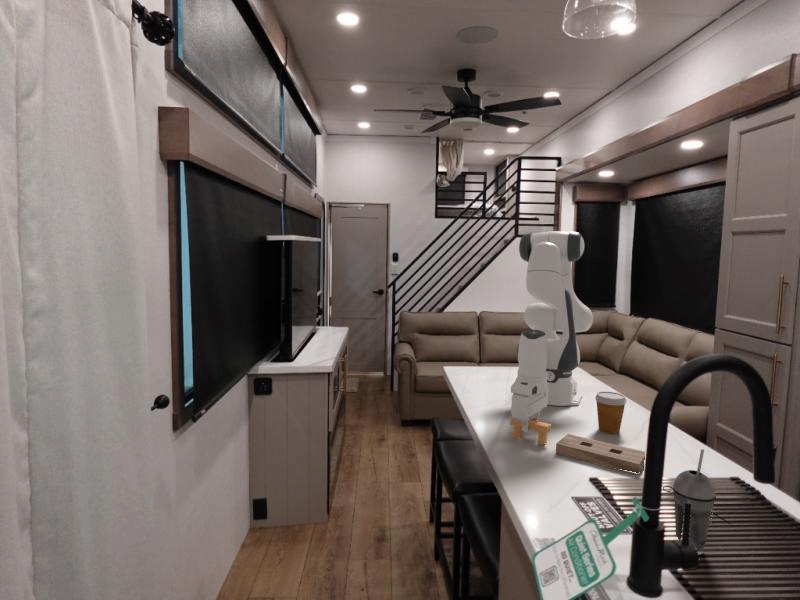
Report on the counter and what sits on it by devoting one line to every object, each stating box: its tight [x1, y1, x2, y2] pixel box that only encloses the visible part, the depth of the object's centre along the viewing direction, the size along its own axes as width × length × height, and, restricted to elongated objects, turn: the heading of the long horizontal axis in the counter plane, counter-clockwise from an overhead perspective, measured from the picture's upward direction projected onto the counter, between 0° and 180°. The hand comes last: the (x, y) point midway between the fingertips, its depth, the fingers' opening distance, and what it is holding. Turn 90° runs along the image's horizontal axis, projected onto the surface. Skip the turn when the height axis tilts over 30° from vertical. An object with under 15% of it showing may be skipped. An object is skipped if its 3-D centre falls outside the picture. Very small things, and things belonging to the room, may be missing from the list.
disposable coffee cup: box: [594, 391, 628, 435], centre depth 159 cm, size 10×10×12 cm
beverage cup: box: [671, 448, 717, 551], centre depth 93 cm, size 7×7×20 cm
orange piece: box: [509, 416, 552, 445], centre depth 149 cm, size 3×12×6 cm, turn 52°
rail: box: [555, 433, 646, 473], centre depth 137 cm, size 10×22×3 cm, turn 52°
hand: (530, 427), depth 149 cm, fingers open, 5 cm apart
